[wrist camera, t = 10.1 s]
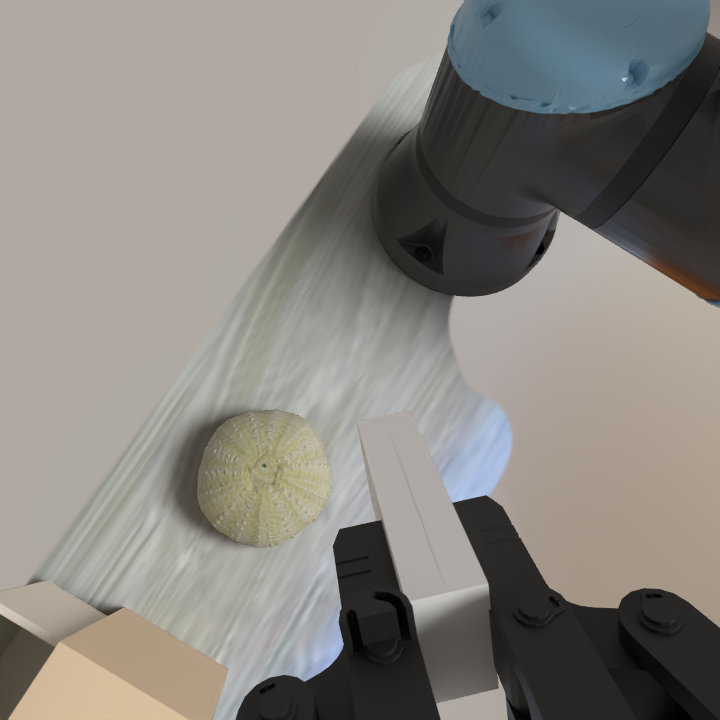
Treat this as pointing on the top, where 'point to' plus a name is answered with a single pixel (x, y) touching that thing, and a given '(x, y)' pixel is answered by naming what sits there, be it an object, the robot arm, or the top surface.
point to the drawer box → (34, 634)
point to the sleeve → (123, 676)
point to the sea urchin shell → (263, 477)
